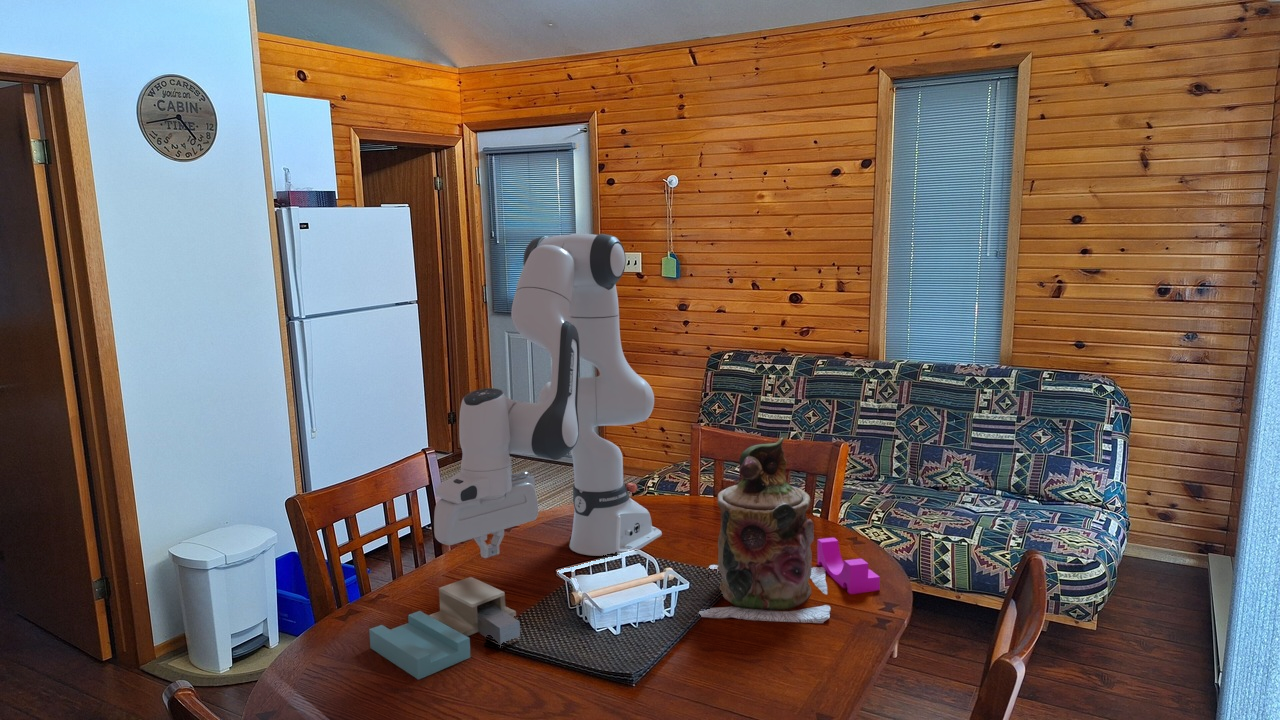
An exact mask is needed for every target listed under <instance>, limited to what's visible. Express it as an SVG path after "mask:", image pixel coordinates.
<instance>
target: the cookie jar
mask: <svg viewBox="0 0 1280 720" xmlns="http://www.w3.org/2000/svg"><path fill="white" fill-rule="evenodd" d="M784 439H785V438H784V437H781V438H779V439H778V440H777V442H772V443H760V444H755V445H751V446H749V447H747V448H746V449H744V450H743V452H741V455H740V458H739V469H738V471H739V474H740V475H741V477H742V480H740V481H739V482H738V484H735V485H731V486H728V487H726V488H725V489H723V490H721V491H719V492H718V494H717V498H716V499H717V506H718V507H719V509H720V511H721V512H720V522H721V524H720V532H719V534H718V539H717V548H718V559H717V561H718V562H717V564H709V566H708V569H709V568H710V569H717V570H718V571H719V573H720V575H721V577H722V578H721V579H722V580H721V582H720V584H719V591H720V590H721V591H722V593H721V594H723V595H722V597H723V598H724V599H725V600H726V601H727V602H730V603H731V606H723V607H709V608H710V609H707V610H704V611H700V610H699V612H698V615H699V614H700V615H701V617H700V618H707V619H708V618H709V619H730V618H734V619H738V620H741V619H742V620H745V621H746V620H747V621H761V622H762V621H763V622H765V621H766V622H780V623H781V622H782V623H783V622H784V623H805V624H806V623H812V624H824V622H826V621H827V620H829V619H830V616H831V614H830V613H831V610H832V609H831V606H830V605H828V604H824V605H820V606H812V607H807V608H802V609H796V610H792V609H794V608H796V607H798V606H801V605H802V604H804V603H805V602H807V601H808V599H809V598H810V596H811V594H812V587H811V585H810V583H809V580H810V579H811V581H812V583H813V584H814V586H815V587H817V588H818V590H819V591H821V593H822V594H824V595H828V584H827V581H826V575H827V573H826V569H825V568H823V566H821V567H819V566H818V567H817V566H813V567H812V559H813V558H812V556H813V554H812V553H813V552H812V549H811V547H812V545H811V544H812V543H813V542H814V539H815V537H814V536H815V535H814V534H815V533H814V526H815V525H814V522H813V520H812V519H808V516H807V513H806V512H807V511H808V510H809V507H810V505H811V497H810V495H809V494H808V492H806V491H804V490H803V489H802V488H799V487H796V486H792V485H791V484H789V483H788V482H787V479H786V469H787V463H788V462H787V460H786V458H785V457H784V455H785V451H784V449H783V447H782V445H783V443H784ZM732 605H733V606H732ZM790 609H791V610H790ZM788 610H789V611H788Z"/></svg>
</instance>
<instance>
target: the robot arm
mask: <svg viewBox="0 0 1280 720" xmlns="http://www.w3.org/2000/svg"><path fill="white" fill-rule="evenodd" d="M625 251H626V250H625V247H624V246H623V244H622V242H621V241H620V240H619V238H618V237H616V236H613V235H611V234H604V233H599V234H595V233H594V234H591V233H570V234H559V235H553V236H550V235H545V236H544V235H543V236H539V237H537V238H534V239H532V240H531V241H530V242H529V244H528V245H527V246H526V248H525V251H524V254H523V260H522V262H523V268H522V270H521V273H520V275H519V279H518V282H517V285H516V288H515V292H514V297H513V301H512V305H511V321H512V323H513V325H514V327H515V329H516V331H517V332H518V333H519V334H520V335H521V336H522V337H523V338H524V339H525V340H527V341H529V342H530V343H532V344H534V345H536V346H537V347H540V348H542V349H544V350H546V351H548V353H549V354H550V357H551V374H550V381H547V383H546V384H544V386H543V387H542V389H541V390H540V393H539V396H538V401H537V402H530V401H529V402H527V401H517V400H516V399H515V400H514V399H511V398H508V397H507V396H506V395H505V393H504V391H503V390H501V389H499V388H488V387H487V388H482V389H476V390H473V391H471V392H468V393H467V394H465V396H464V397H463V398H462V400H461V403H460V408H459V422H458V423H459V424H458V425H459V426H458V429H459V430H458V431H459V432H458V433H459V436H458V437H459V445H460V447H461V451H462V455H461V456H462V458H461V462H460V471H458V472H456V474H454V475H453V476H451V477H449V478H448V479H446V480H445V481H443V482H441V483H439V484H438V485H437V486H436V488H435V494H436V497H438V498H439V500H438V501H437V503H436V505H435V506H434V514H433V515H434V517H433V528H434V529H433V532H434V538H435V539H436V540H437V542H439V543H441V544H443V545H445V546H452V545H455V544H459V543H462V542H466V541H469V540H474V541H475V543H476V544H477V546H478V547H479V549H480V556H481V558H484V559H487V558H490V557H494V556H498V555H500V546H501V543H502V541H503V539H504V536H505V530H506V529H510V528H513V527H516V526H517V527H518V526H521V525H523V524H526V523H527V524H528V523H529V522H533V521H536V520H537V518H538V516H539V504H538V497H537V492H536V489H535V488H536V482H535V481H536V480H535V477H534V476H533V474H531V473H529V472H528V471H522V472H520V473H512V459H511V456H510V453H513V454H517V455H529V456H536V457H539V458H543V459H549V460H554V461H558V460H561V459H562V458H563V457H565V456H567V455H568V453H571V457H572V464H573V465H572V466H573V476H574V478H573V479H574V484H573V486H572V503H573V508H574V510H573V511H574V513H573V519H572V520H573V521H572V532H571V537H570V541H569V545H568V546H569V549H570V550H571V551H572V552H575V553H577V554H580V555H586V556H593V557H594V556H595V557H596V556H597V557H598V556H599V557H603V555H604V556H605V555H606V556H608V555H607V554H610V553H615V552H617V553H622V552H626V551H630V550H634V549H639V550H641V549H642V548H644V547H645V546H647V545H648V544H650V543H652V542H653V541H655V540H656V539H658V538H660V537H661V536H662V535H663V533H662V532H663V531H662V530H660V529H659V528H657V527H655V526H653V524H652V518H651V517H652V516H651V514H650V512H649V510H648V509H647V508H645V507H644V506H643V505H641V504H639V503H638V502H637V501H635V500H633V499H632V498H631V497H630V495H629V492H630V493H633V494H634V493H637V490H638V485H637V483H631V482H628V483H627V484H626V483H625V482H624V466H623V465H624V464H623V463H624V461H623V460H624V459H623V458H624V457H623V453H622V451H621V449H620V448H619V446H617V445H616V444H614V442H612V441H610V440H608V439H605V438H603V437H601V436H600V435H598V434H597V433H596V432H595V428H596V427H601V426H602V427H604V426H605V427H606V426H608V427H609V426H628V425H634V424H637V423H641V422H645V421H647V420H648V418H649V417H650V416H651V414H652V412H653V411H654V406H655V394H654V391H653V388H652V387H651V385H650V384H649V383H648V382H647V380H646V379H644V378H643V377H641V376H640V375H639V374H638V373H637V372H636V371H635V370H634V369H633V368H632V367H631V366H630V364H629V362H628V361H627V359H626V357H625V354H624V352H623V351H624V350H623V347H622V341H621V331H620V308H619V297H618V291H617V285H616V284H617V283H618V282H619V281H620V279H621V278H622V277H623V274H624V273H625V269H626V259H627V258H626V252H625ZM580 360H581V361H584V362H586V363H589V364H590V365H592V366H594V367H595V368H596V369H597V370H598V372H599V375H598V376H592V377H591V376H587V377H586V376H585V377H579V376H580V374H579V373H580ZM490 534H492V535H493V536H492V539H491V541H490V543H489V544H487V542H486V541H487V540H488V535H490Z"/></svg>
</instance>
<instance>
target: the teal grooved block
mask: <svg viewBox="0 0 1280 720" xmlns="http://www.w3.org/2000/svg"><path fill="white" fill-rule="evenodd" d="M407 616H408V617H407V619H408V620H407V621H408V622H407V623H405V624H402V625H399V626H397V627H394V628H392V629H390V628H388V627H386V626H385V625H383V624H380V625H377V626H374V627H371V628H369V629H368V633H369V645H370V647H369V648H370V649H371V650H373V651H374V652H376V653H377V654H379V655H380V656H382V657H383V658H384V659H386V660H388V661H389V662H391V663H392V664H394V665H395V666H397V667H399V669H401V670H403V671H404V672H406V673H407V674H409V675H411V676H412V677H414V678H415V679H417V680H418V681H419V680H422V679H424V678H426V677H428V676H431V675H433V674H435V673H438V672H440V671H442V670H444V669H447V668H449V667H451V666H454V665H456V664H459V663H461V662H463V661H465V660H467V659H470V658H471V639H470V637H469V636H465V635H463V634H461V633H460V632H458V631H456V630H454V629H452V628H450V627H449V626H447V625H445V624H443V623H441V622H439V621H438V620H436V619H434V618H432V617H430V616H429V614H427V613H424V612H423V611H421V610H418V611H415V612H413V613H410V614H408V615H407Z"/></svg>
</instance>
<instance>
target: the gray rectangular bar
mask: <svg viewBox="0 0 1280 720" xmlns="http://www.w3.org/2000/svg"><path fill="white" fill-rule="evenodd" d="M477 617H478V632H477V633H479V634H480V635H482V636H484V638H486V636H487V635H491V636H492V637H493V639H495V640H496V641H497V642H498V643H499V644H500V647H499V648H500V649H502V648H501V644H502V643H503V642H506V641H508V640H511V639H514V638H518V637H520V638H521V625H520V624H521V621H520V620H519V619H517V618H515V617H512V616H510V615H509V614H507V613H506V612H504V611H503V610H501V609H499V608H498V607H496V606H495V605H493V604H492V603H490V602H486V603H483V604H480V605H478V606H477Z"/></svg>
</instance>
